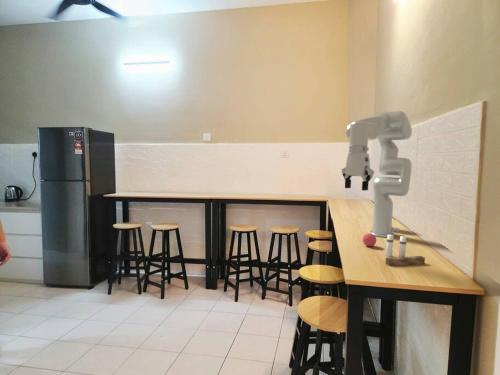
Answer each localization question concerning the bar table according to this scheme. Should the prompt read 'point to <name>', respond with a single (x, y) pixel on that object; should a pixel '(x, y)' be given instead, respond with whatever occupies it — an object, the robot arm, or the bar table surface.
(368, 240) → the ball
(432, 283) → the bar table surface
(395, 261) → the wall
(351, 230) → the bar table surface
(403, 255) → the rear pin
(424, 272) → the bar table surface
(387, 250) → the front pin
